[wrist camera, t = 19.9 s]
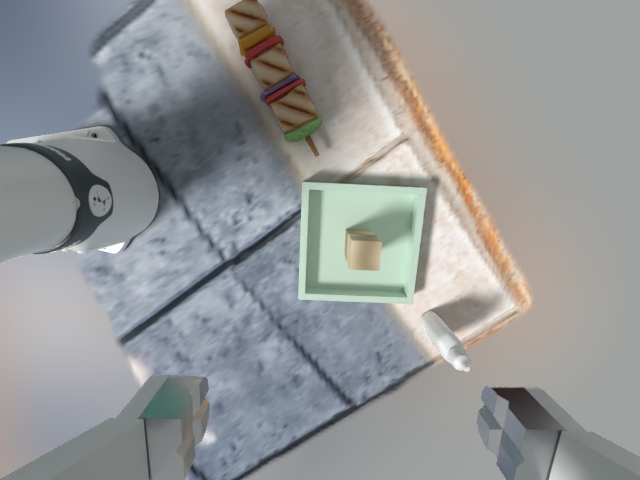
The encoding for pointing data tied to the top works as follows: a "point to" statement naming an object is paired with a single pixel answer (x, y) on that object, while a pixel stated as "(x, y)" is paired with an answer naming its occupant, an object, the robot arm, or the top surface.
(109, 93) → the top surface
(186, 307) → the top surface
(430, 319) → the eye dropper bottle
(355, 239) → the birch block
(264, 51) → the skewer
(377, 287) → the tray
